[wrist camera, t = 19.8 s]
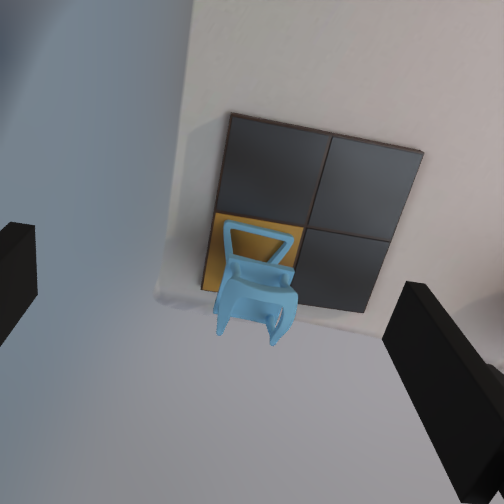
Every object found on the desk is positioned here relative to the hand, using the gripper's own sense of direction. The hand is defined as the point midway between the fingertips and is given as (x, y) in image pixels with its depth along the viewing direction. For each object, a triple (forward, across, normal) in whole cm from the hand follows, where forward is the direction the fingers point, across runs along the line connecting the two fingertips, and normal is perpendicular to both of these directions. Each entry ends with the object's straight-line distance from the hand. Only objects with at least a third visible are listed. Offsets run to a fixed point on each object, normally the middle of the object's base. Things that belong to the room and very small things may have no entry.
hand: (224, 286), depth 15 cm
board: (+30, +10, -9) cm, 33 cm away
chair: (+29, +5, -14) cm, 33 cm away
